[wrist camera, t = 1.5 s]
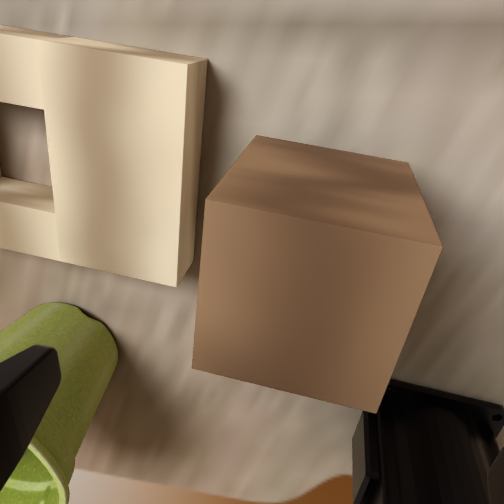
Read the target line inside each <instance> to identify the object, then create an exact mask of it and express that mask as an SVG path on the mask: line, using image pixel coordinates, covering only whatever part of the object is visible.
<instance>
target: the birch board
mask: <svg viewBox="0 0 504 504" xmlns="http://www.w3.org/2000/svg"><path fill="white" fill-rule="evenodd" d="M207 61H208V59H205V58H199V57H193V56H187V55H180V54H174V53H168V52H162V51H156V50H150V49H144V48H138V47H132V46H126V45H119V44H113V43H107V42H101V41H95V40H89V39H83V38H77V37H71V36H65V35H58V34H52V33H46V32H40V31H34V30H28V29H22V28H16V27H10V26H3V25H0V102H5V103H10V104H16V105H21V106H26V107H32V108H37V109H43V110H44V115H45V124H46V133H47V142H48V152H49V161H50V170H51V180H52V187H49V186H45V185H40V184H35V183H30V182H25V181H20V180H15V179H10V178H6V177H2V174H1V168H0V248H3V249H8V250H12V251H17V252H21V253H26V254H30V255H35V256H39V257H44V258H48V259H52V260H57V261H61V262H66V263H70V264H75V265H79V266H84V267H88V268H92V269H97V270H101V271H106V272H110V273H115V274H119V275H124V276H128V277H133V278H137V279H141V280H146V281H150V282H155V283H159V284H164V285H168V286H173V287H177V285H178V284H179V282H180V281H181V279H182V278H183V276H184V275H185V273H186V271H187V270H188V268H189V267H190V265H191V264H192V262H193V258H194V244H195V230H196V216H197V202H198V188H199V174H200V159H201V145H202V131H203V117H204V103H205V89H206V75H207Z"/></svg>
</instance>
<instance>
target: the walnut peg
mask: <svg viewBox="0 0 504 504" xmlns="http://www.w3.org/2000/svg"><path fill="white" fill-rule="evenodd" d="M442 248H443V246H442V243H441V241H440V239H439V236H438V234H437V231H436V229H435V226H434V224H433V222H432V219H431V217H430V214H429V212H428V209H427V207H426V205H425V202H424V200H423V197H422V195H421V192H420V190H419V188H418V185H417V183H416V180H415V178H414V175H413V173H412V170H411V168H410V166H409V163H407V162H401V161H396V160H390V159H385V158H379V157H374V156H368V155H363V154H357V153H352V152H346V151H341V150H335V149H330V148H324V147H319V146H313V145H308V144H302V143H297V142H291V141H286V140H280V139H275V138H269V137H264V136H258V135H256V136H255V138H254V139H253V140H252V141H251V143H250V144H249V145H248V146H247V148H246V149H245V150H244V151H243V153H242V154H241V155H240V156H239V158H238V159H237V160H236V161H235V163H234V164H233V165H232V166H231V168H230V169H229V170H228V171H227V173H226V174H225V175H224V176H223V178H222V179H221V180H220V181H219V183H218V184H217V185H216V186H215V188H214V189H213V190H212V192H211V193H210V194H209V195H208V197H207V198H206V199H205V210H204V223H203V235H202V247H201V260H200V272H199V285H198V297H197V310H196V322H195V334H194V347H193V359H192V369H196V370H200V371H204V372H209V373H213V374H217V375H221V376H225V377H229V378H233V379H237V380H241V381H245V382H249V383H253V384H257V385H261V386H266V387H270V388H274V389H278V390H282V391H286V392H290V393H294V394H298V395H302V396H306V397H310V398H314V399H318V400H322V401H327V402H331V403H335V404H339V405H343V406H347V407H351V408H355V409H359V410H363V411H367V412H371V413H375V414H376V413H377V411H378V408H379V406H380V403H381V401H382V398H383V396H384V393H385V391H386V388H387V385H388V383H389V380H390V378H391V375H392V373H393V370H394V368H395V365H396V363H397V360H398V358H399V355H400V353H401V350H402V348H403V345H404V343H405V340H406V338H407V335H408V333H409V330H410V328H411V325H412V323H413V320H414V318H415V315H416V313H417V310H418V308H419V305H420V303H421V300H422V298H423V295H424V293H425V290H426V288H427V285H428V283H429V280H430V278H431V275H432V273H433V270H434V268H435V265H436V263H437V260H438V258H439V255H440V253H441V250H442Z"/></svg>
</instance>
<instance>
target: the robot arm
mask: <svg viewBox="0 0 504 504" xmlns="http://www.w3.org/2000/svg"><path fill="white" fill-rule="evenodd" d="M60 382H61V369H60V363H59V358H58V352H57V350H56V349H55V348H54V347H51V346H46V345H41V344H36V345H33V346H30V347H29V348H27V349H25V350H23V351H21V352H19V353H17V354H15V355H13V356H11V357H9V358H7V359H6V360H4V361H2V362H0V492H1V490H2V488H3V487H4V485H5V484H6V482H7V481H8V479H9V478H10V476H11V474H12V473H13V471H14V470H15V468H16V467H17V465H18V463H19V462H20V460H21V458H22V457H23V455H24V453H25V452H26V450H27V448H28V446H29V444H30V442H31V440H32V438H33V437H34V435H35V433H36V431H37V429H38V427H39V425H40V423H41V421H42V419H43V417H44V415H45V413H46V411H47V409H48V407H49V405H50V403H51V401H52V399H53V397H54V395H55V393H56V391H57V390H58V388H59V385H60ZM387 388H391V389H390V390H387ZM387 388H386V391H385V393H384V396H383V398H382V401H381V403H380V406H379V408H378V411H377V413H376V414H375V413H371V412H367V411H363V412H362V414H361V417H360V420H359V422H358V425H357V428H356V431H355V433H354V436H353V439H352V455H353V503H354V504H504V447H503V448H502V450H501V451H500V449H499V447H498V444H497V441H496V437H497V435H498V434H499V432H500V431H501V429H502V427H503V426H504V407H503V406H500V405H497V404H493V403H489V402H484V401H480V400H476V399H472V398H467V397H463V396H459V395H455V394H451V393H446V392H442V391H438V390H434V389H429V388H425V387H421V386H417V385H412V384H408V383H404V382H400V381H395V380H391V379H390V380H389V383H388V385H387ZM494 414H497V415H494Z"/></svg>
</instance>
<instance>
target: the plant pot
mask: <svg viewBox="0 0 504 504" xmlns="http://www.w3.org/2000/svg"><path fill="white" fill-rule="evenodd" d="M36 344H41V345H46V346H51V347H54V348H55V349H56V350H57V352H58V358H59V363H60V369H61V382H60V385H59V388H58V390H57V391H56V393H55V395H54V397H53V399H52V401H51V403H50V405H49V407H48V409H47V411H46V413H45V415H44V417H43V419H42V421H41V423H40V425H39V427H38V429H37V431H36V433H35V435H34V437H33V438H32V440H31V442H30V444H29V446H28V448H27V450H26V452H25V453H24V455H23V457H22V458H21V460H20V462H19V463H18V465H17V467H16V468H15V470H14V471H13V473H12V474H11V476H10V478H9V479H8V481H7V482H6V484H5V485H4V487H3V488H2V490H1V492H0V504H68V502H69V494H70V493H69V486H68V485H69V482H70V480H71V477H72V474H73V471H74V466H75V457H76V455H77V452H78V450H79V448H80V446H81V443H82V441H83V439H84V436H85V434H86V432H87V430H88V428H89V425H90V423H91V421H92V419H93V416H94V414H95V412H96V410H97V407H98V405H99V403H100V401H101V399H102V396H103V394H104V392H105V390H106V388H107V386H108V384H109V381H110V379H111V377H112V375H113V373H114V370H115V368H116V365H117V362H118V350H117V346H116V343H115V341H114V339H113V337H112V335H111V334H110V332H109V331H108V330H107V328H106V327H105V326H104V325H103V324H102V323H101V322H99V321H96V320H94V319H91V318H89V317H88V316H86V315H85V314H83V313H82V312H81V311H80V309H79V308H77V307H75V306H72V305H69V304H64V303H45V304H42V305H39V306H37V307H35V308H34V309H32V310H31V311H29V312H28V313H26V314H25V315H23V316H22V317H21V318H19V319H18V320H16V321H15V322H13V323H12V324H10V325H9V326H8V327H6V328H5V329H3V330H2V331H0V362H2V361H4V360H6V359H7V358H9V357H11V356H13V355H15V354H17V353H19V352H21V351H23V350H25V349H27V348H29V347H30V346H33V345H36Z"/></svg>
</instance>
